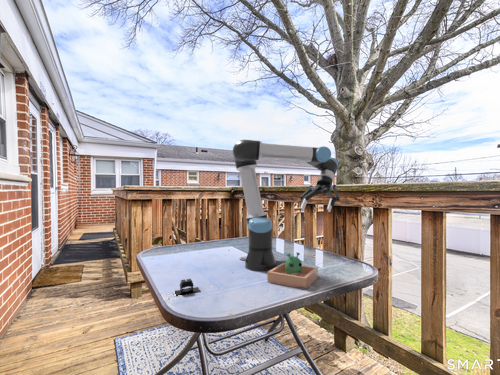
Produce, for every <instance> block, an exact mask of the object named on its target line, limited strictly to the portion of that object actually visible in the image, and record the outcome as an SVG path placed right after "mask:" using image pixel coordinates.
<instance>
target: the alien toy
mask: <svg viewBox="0 0 500 375" xmlns="http://www.w3.org/2000/svg"><path fill="white" fill-rule="evenodd" d="M286 255H287V256H288V257H287V258H286V260H285V262H284V263H285V270H286V272H287V274H289V275H295V276H299V275H300V273H301V271H302V266H303V265H302V260H301V259H300V258H299V256H300V255H301V254H300V252H296V256H295V255H294V256H293V255H292V256H291V253H287V254H286Z"/></svg>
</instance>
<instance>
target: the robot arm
mask: <svg viewBox="0 0 500 375" xmlns="http://www.w3.org/2000/svg"><path fill="white" fill-rule="evenodd" d="M232 154H233V159H234V163H235V168H236V170H237V171H238V172H239V175H240V179H241V184H242V190H243V195H244V200H245V205H246V210H247V215H246V217H245V221H246V226H247V232H248V253H247V255H246V258H245V261H244V267H245V269H247V270H252V271H261V272H263V271H270V270H272V269H273V268H275V267H277V261H276V258H275V256H274V252H273V222H272V219H270V218H268V214H267V212H265V211H264V208H263V203H262V198H261V197H262V196H261V193H260V188H259V182H258V177H257V173H256V172H257V171H256V168H257V166H258V163H257V161H260V160H262V159H263V160H265V159H266V160H268V159H269V160H277V161H278V160H280V161H292V162H293V161H294V162H305V163H306V164H309V166H312V167H314V168H315V169H317V170H318V171H320V174H319V177H318V178H317V181H316V185H315V186H313V184H312V185H309V187H308V188H307V189H306V190H305V191H304V192H303V193H302V194H301V195H300V196H299V199H300V201H301V202H300V210H301V212H305V208H306V207H307V203H308V201H309V200H311V199H312V198H313V197H315V196H317V195H325V194H326V195H327V196H328V197H329V201H328V205H327V207H326V210H327V212H328V213H331V210H332V208H333V207H334V206H335V204H336V202H340V201H341V198H340V196H339V194H338V191H337V190H338V188H337V185H336V184H333V182H334V179H335V176H336V173H337V171H338V168H339V161H338V160H337V159H336V158H335V157H332V150H331V149H330V148H329V147H328V146H320V147H315V146H313V147H312V146H303V145H289V144H288V145H287V144H275V143H263V142H262V141H261V140H255V139H254V140H252V139H241V140H238V141H236V142H235V143H234V146H233V147H232ZM330 190H332V191H333V193H334V194H332V192H331V191H330Z"/></svg>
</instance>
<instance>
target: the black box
mask: <svg viewBox="0 0 500 375" xmlns="http://www.w3.org/2000/svg"><path fill="white" fill-rule="evenodd" d="M174 291H175V294H176V297H179V296H178V295H182V296H186V294H187V295H192V294H197V293H201V292H202V290H200V288H199V287H198V286H196V287H194V282H193V280H192V279H191V278H187V279H181V280H180V283H179V289H177V290H174Z"/></svg>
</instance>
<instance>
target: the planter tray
mask: <svg viewBox="0 0 500 375" xmlns="http://www.w3.org/2000/svg"><path fill="white" fill-rule="evenodd" d="M285 263H286V262H282V263H281V264H278V265H276V267H275V268H273V269H271V270H267V271H266V272H267V275H266V276H267V279H266V280H267V282H268V283H271V284H276V285H281V286H282V285H283V286H287V287H292V288H298V289H302V290H307V289H308V288H309V287H310V286H311V285H312V284H313V283H314V282H315V281H316V280H317V279H318V278H319V269H318V268H319V267H313V266H306V265H302V271H301V273H300V275H299V276H295V275H289V274H287V272H286V270H285Z"/></svg>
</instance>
